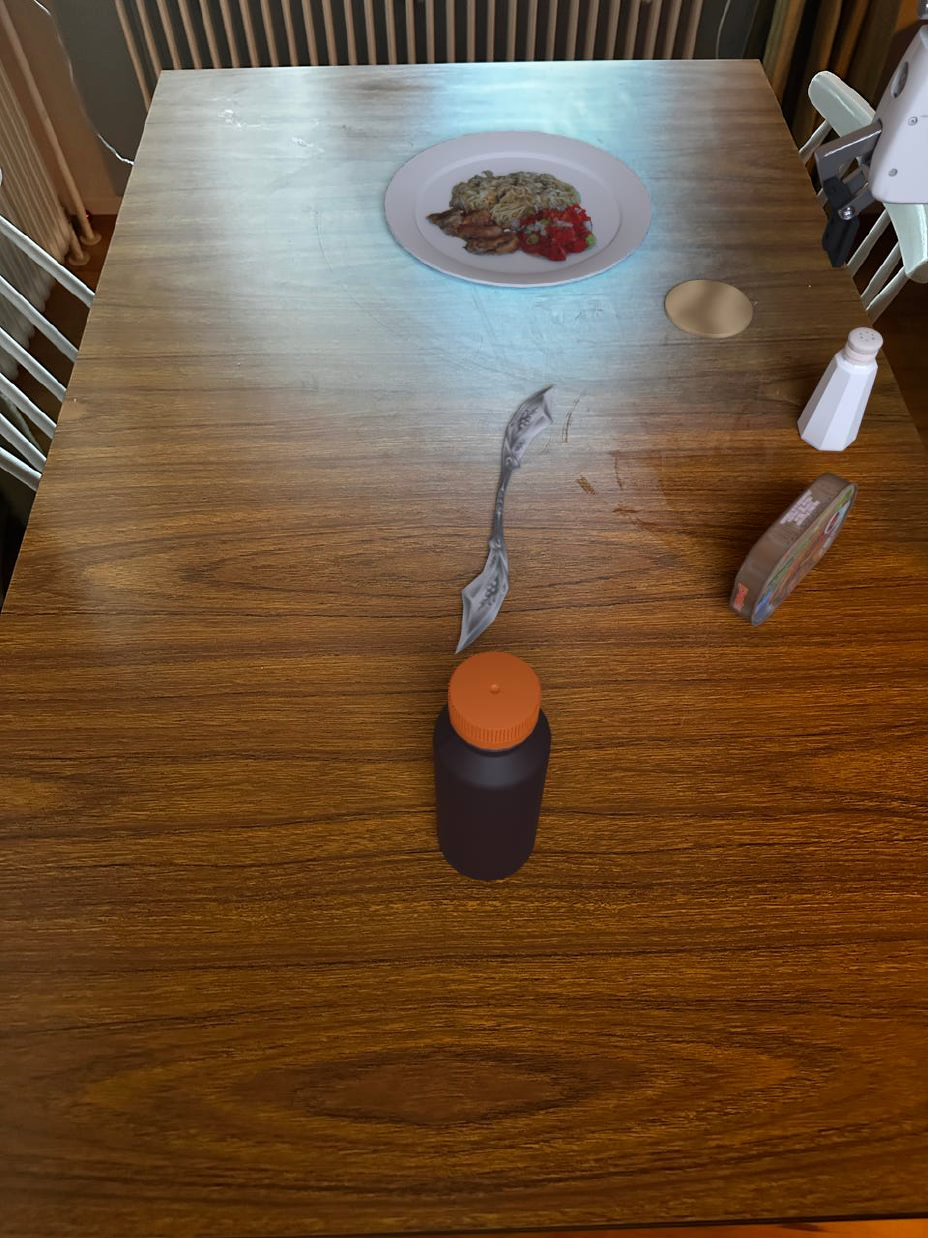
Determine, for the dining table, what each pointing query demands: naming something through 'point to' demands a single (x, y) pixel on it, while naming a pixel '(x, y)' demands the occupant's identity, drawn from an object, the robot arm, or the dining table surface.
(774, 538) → the tin
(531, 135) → the plated food
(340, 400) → the dining table surface
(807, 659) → the dining table surface
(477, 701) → the bottle
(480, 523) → the dining table surface
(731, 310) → the cork coaster
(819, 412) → the pepper shaker
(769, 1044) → the dining table surface
